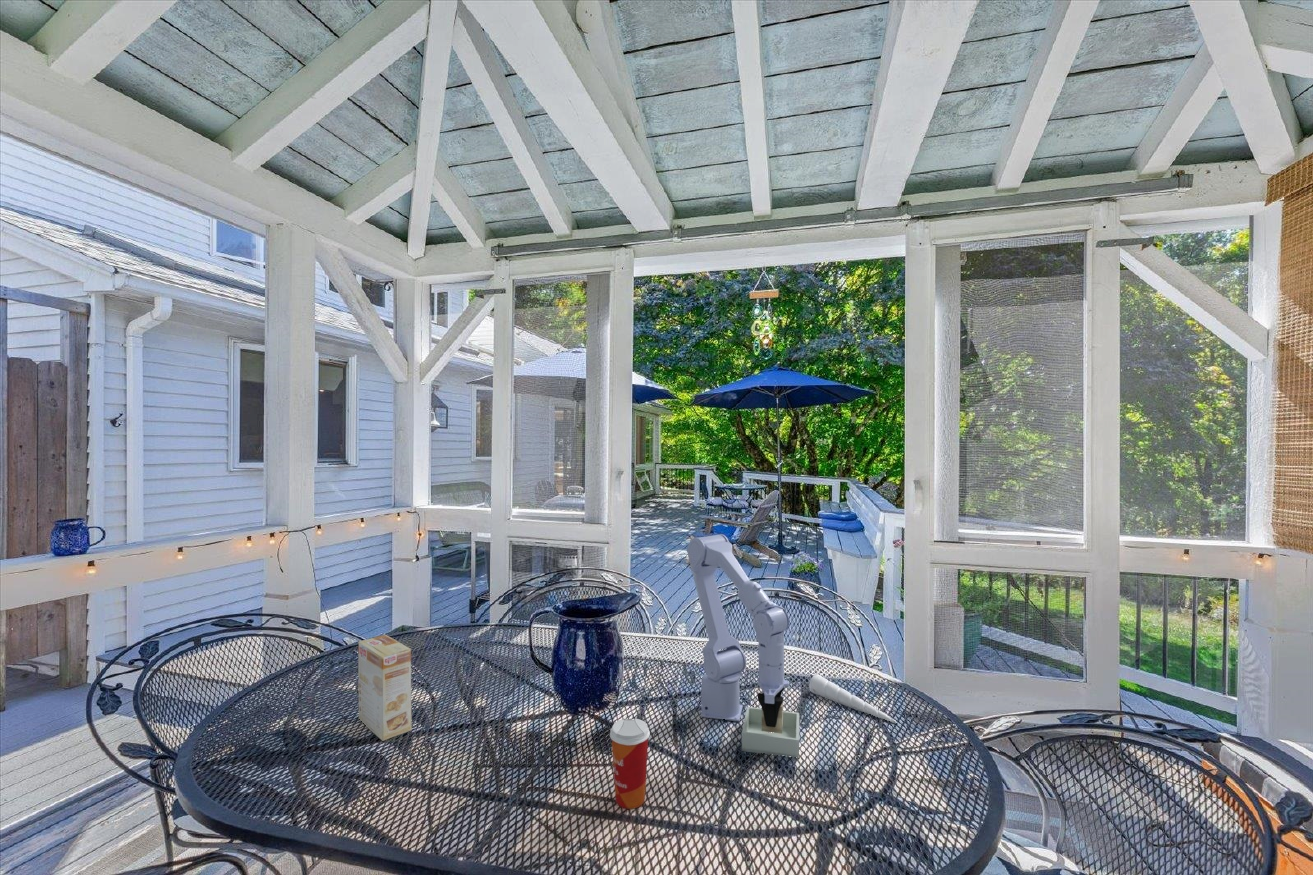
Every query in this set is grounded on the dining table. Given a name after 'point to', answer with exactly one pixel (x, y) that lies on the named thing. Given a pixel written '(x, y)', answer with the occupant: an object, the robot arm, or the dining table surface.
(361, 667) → the coffeecake box
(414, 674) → the dining table surface
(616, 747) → the paper cup
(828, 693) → the unicorn horn
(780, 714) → the birch block
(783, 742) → the bin
